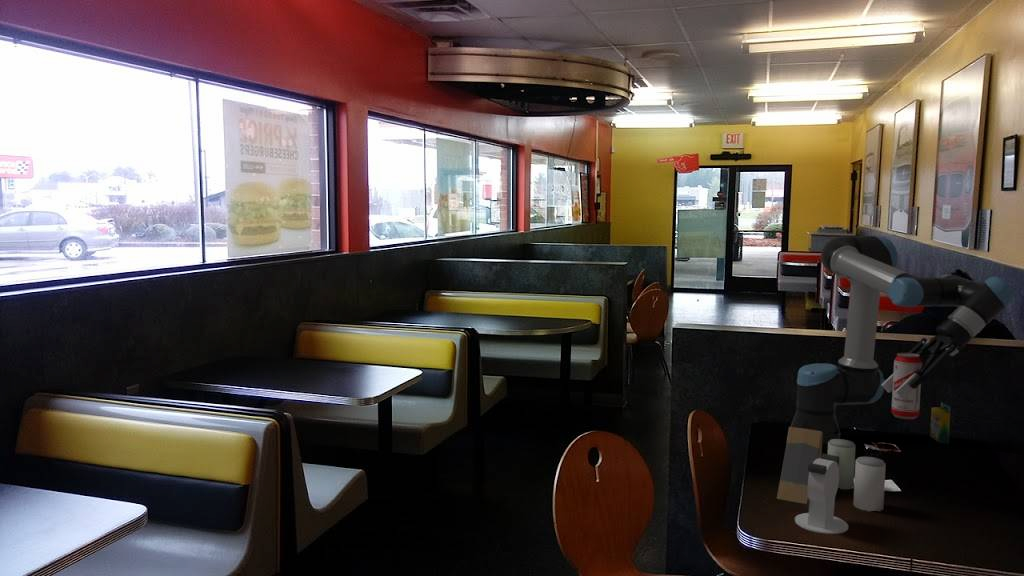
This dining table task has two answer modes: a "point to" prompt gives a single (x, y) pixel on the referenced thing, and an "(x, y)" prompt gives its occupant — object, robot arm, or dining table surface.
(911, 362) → the beer can
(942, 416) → the crayon box
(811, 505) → the white post on disc
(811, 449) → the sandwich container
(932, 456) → the dining table surface
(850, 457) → the sage tin
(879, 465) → the off-white tin
